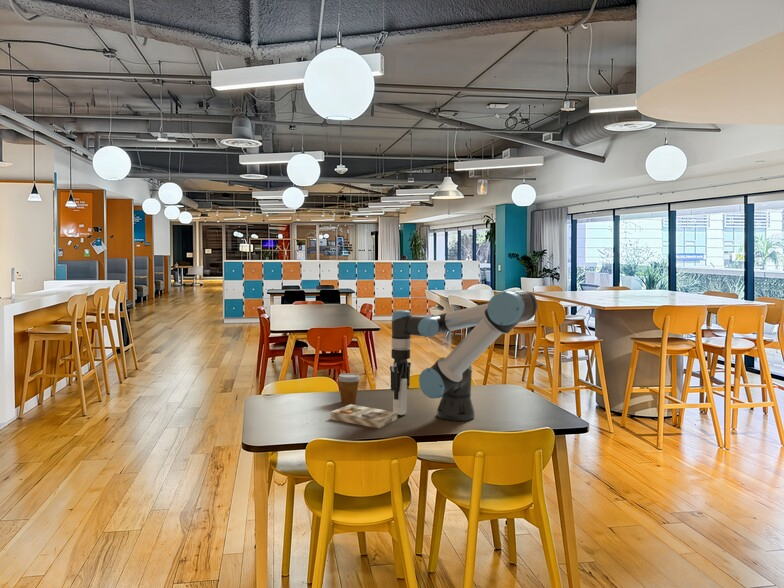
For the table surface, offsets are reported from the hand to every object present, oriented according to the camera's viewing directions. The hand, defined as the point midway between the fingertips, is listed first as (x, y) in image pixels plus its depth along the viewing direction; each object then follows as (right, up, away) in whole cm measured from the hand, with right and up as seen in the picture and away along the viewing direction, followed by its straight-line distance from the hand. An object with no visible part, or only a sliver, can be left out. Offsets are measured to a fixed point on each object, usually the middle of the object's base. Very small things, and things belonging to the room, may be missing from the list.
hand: (399, 405), depth 250 cm
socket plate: (-14, -4, -8) cm, 17 cm away
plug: (0, -3, 0) cm, 3 cm away
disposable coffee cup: (-22, -2, +19) cm, 29 cm away
